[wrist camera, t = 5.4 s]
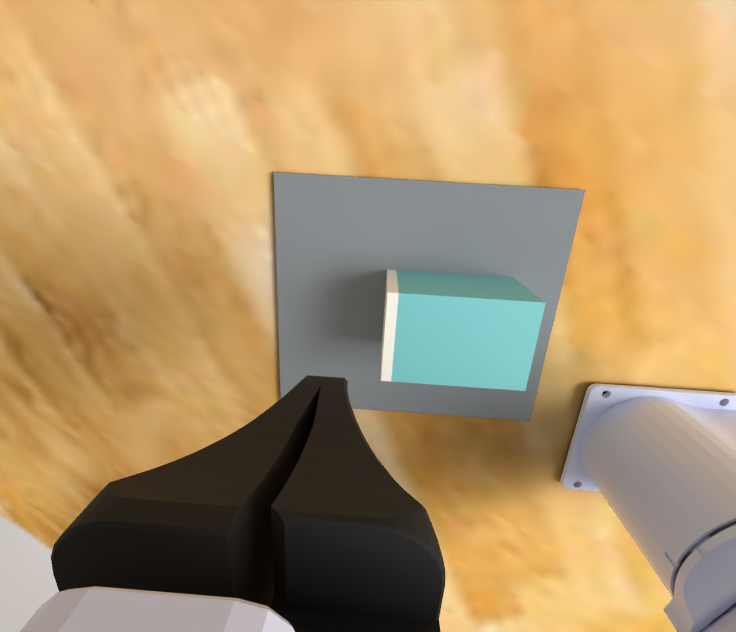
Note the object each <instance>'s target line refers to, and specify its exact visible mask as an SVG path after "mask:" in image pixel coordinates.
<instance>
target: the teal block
mask: <svg viewBox="0 0 736 632" xmlns="http://www.w3.org/2000/svg"><path fill="white" fill-rule="evenodd" d="M545 304H546V302H544V301H543V300H542V299H540V298H539V297H538V296H537V295H535V294H534V293H533V292H531V291H530V290H529V289H528V288H526V287H525V286H524V285H522V284H521V283H520V282H519V281H517V280H516V279H515V278H513V277H498V276H483V275H467V274H451V273H435V272H419V271H403V270H387V279H386V293H385V307H384V320H383V334H382V357H381V381H391V382H405V383H419V384H433V385H448V386H462V387H476V388H490V389H505V390H519V391H526V386H527V382H528V378H529V373H530V369H531V365H532V360H533V356H534V352H535V347H536V343H537V338H538V334H539V330H540V325H541V321H542V317H543V312H544V308H545Z"/></svg>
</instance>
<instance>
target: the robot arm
mask: <svg viewBox="0 0 736 632" xmlns="http://www.w3.org/2000/svg"><path fill="white" fill-rule="evenodd" d="M347 388H348V381H347V380H346V379H345V378H340V377H325V376H311V375H307V376H306V377H305V378H303V379H302V380H301V381H300V382H299V383H298V384H297V385H296V386H295V387H294V388H292V389H291V390H290V391H289V392H288V393H287V394H286V395H285V396H283V397H282V398H281V399H280V400H279V401H278V402H276V403H275V404H274V405H273V406H272V407H270V408H269V409H268V410H266V411H265V412H264V413H262V414H261V415H260V416H258V417H257V418H256V419H254V420H253V421H251V422H250V423H248V424H247V425H245V426H244V427H242V428H241V429H239V430H237V431H236V432H234V433H232V434H231V435H229V436H227V437H225V438H223V439H221V440H219V441H217V442H215V443H213V444H211V445H209V446H207V447H205V448H203V449H201V450H199V451H197V452H195V453H193V454H190V455H188V456H186V457H183V458H181V459H178V460H176V461H173V462H171V463H168V464H165V465H163V466H160V467H157V468H154V469H151V470H148V471H145V472H142V473H139V474H136V475H132V476H129V477H126V478H123V479H120V480H116V481H113V482H110V483H109V484H108V485H107V486H106V487H105V488H104V489H103V490H102V491H101V492H100V493H99V494H98V495H97V496H96V497H95V498H94V499H93V500H92V502H91V503H90V504H89V505H88V506H87V507H86V508H85V509H84V510H83V512H82V513H81V514H80V515H79V516H78V517H77V518H76V519H75V520H74V522H73V523H72V524H71V525H70V526H69V527H68V528H67V529H66V530H65V532H64V533H63V534H62V535H61V536H60V538H59V539H58V540H57V541H56V543H55V544H54V547H53V551H52V555H51V561H52V567H53V573H54V577H55V580H56V583H57V586H58V589H59V592H58V593H57V594H55V595H54V596H53V597H52V598H51V599H49V600H48V601H47V602H45V603H44V604H43V605H42V606H41V607H40V608H39V609H38V610H37V611H36V613H35V614H34V615H33V617H32V618H31V619H30V620H29V621H28V623H27V624H26V625H25V626H24V628H23V629H22V630H21V631H20V632H440V625H439V615H440V609H441V604H442V599H443V593H444V588H445V567H444V562H443V557H442V554H441V550H440V547H439V543H438V540H437V537H436V534H435V531H434V529H433V526H432V523H431V521H430V519H429V516H428V514H427V511H426V509H425V508H424V507H423V506H422V505H421V504H420V503H419V502H418V501H416V500H415V499H414V498H413V497H412V496H411V495H409V494H408V493H407V492H406V491H405V490H404V489H403V488H402V487H401V486H400V485H399V484H398V483H397V482H396V481H395V480H394V479H393V478H392V476H391V475H390V474H389V473H388V471H387V470H386V469H385V468H384V466H383V465H382V464H381V463H380V461H379V460H378V459H377V457H376V456H375V454H374V453H373V451H372V450H371V448H370V446H369V445H368V443H367V441H366V439H365V438H364V436H363V434H362V432H361V430H360V428H359V425H358V423H357V421H356V418H355V416H354V413H353V410H352V407H351V404H350V401H349V396H348V391H347ZM606 390H607V392H606V393H605V394H602V393H603V392H604V391H606ZM722 399H723V400H722ZM721 400H722V401H721ZM720 401H721V402H720ZM560 482H561V484H562V486H563V487H564V488H565V489H572V490H586V491H599V492H601V493H602V495H603V496H604V498H605V499H606V501H607V502H608V504H609V505H610V506H611V508H612V509H613V511H614V512H615V514H616V515H617V517H618V518H619V520H620V521H621V523H622V524H623V525H624V527H625V528H626V530H627V531H628V533H629V534H630V536H631V537H632V539H633V540H634V542H635V543H636V544H637V546H638V547H639V549H640V550H641V552H642V553H643V555H644V556H645V558H646V559H647V561H648V562H649V563H650V565H651V566H652V568H653V569H654V571H655V572H656V574H657V575H658V577H659V578H660V580H661V581H662V582H663V584H664V585H665V587H666V588H667V590H668V591H669V593H670V594H671V596H672V597H673V598H672V600H671V601H670V603H669V604H668V605H667V606H666V607H665V608H664V612H665V613H666V615H667V616H668V618H669V619H670V621H671V622H672V624H673V626H674V627H675V629H676V630H677V632H736V393H728V392H714V391H699V390H685V389H670V388H656V387H642V386H627V385H613V384H598V383H596V384H592V385H590V386H589V387H588V388H587V390H586V394H585V397H584V401H583V404H582V407H581V411H580V414H579V418H578V421H577V424H576V428H575V431H574V435H573V438H572V441H571V445H570V448H569V452H568V455H567V458H566V462H565V465H564V469H563V472H562V475H561V479H560ZM575 482H577V483H575Z"/></svg>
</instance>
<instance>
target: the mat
mask: <svg viewBox="0 0 736 632" xmlns="http://www.w3.org/2000/svg"><path fill="white" fill-rule="evenodd" d="M584 193H585V190H575V189H557V188H540V187H522V186H505V185H487V184H470V183H452V182H435V181H417V180H400V179H382V178H365V177H347V176H330V175H313V174H295V173H278V172H274V203H275V235H276V267H277V299H278V330H279V362H280V394H281V398H282V397H283V396H285V395H286V394H287V393H288V392H289V391H290V390H291V389H292V388H294V387H295V386H296V385H297V384H298V383H299V382H300V381H301V380H302V379H303V378H305V377H306V376H307V375H311V376H325V377H340V378H345V379H346V380H347V381H348V388H347V391H348V396H349V401H350V404H351V407H352V408H355V409H369V410H383V411H397V412H410V413H424V414H438V415H452V416H466V417H480V418H494V419H508V420H522V421H530V417H531V413H532V409H533V404H534V400H535V396H536V392H537V388H538V384H539V380H540V375H541V371H542V367H543V363H544V359H545V355H546V351H547V346H548V342H549V338H550V334H551V330H552V326H553V322H554V317H555V313H556V309H557V305H558V301H559V297H560V293H561V288H562V284H563V280H564V276H565V272H566V268H567V264H568V259H569V255H570V251H571V247H572V243H573V239H574V235H575V230H576V226H577V222H578V218H579V214H580V210H581V206H582V201H583V197H584ZM387 270H403V271H419V272H435V273H451V274H467V275H483V276H498V277H513V278H515V279H516V280H517V281H519V282H520V283H521V284H522V285H524V286H525V287H526V288H528V289H529V290H530V291H531V292H533V293H534V294H535V295H537V296H538V297H539V298H540V299H542V300H543V301H544V302H546V304H545V308H544V312H543V317H542V321H541V325H540V330H539V334H538V338H537V343H536V347H535V352H534V356H533V360H532V365H531V369H530V373H529V378H528V382H527V386H526V391H519V390H505V389H490V388H476V387H462V386H448V385H433V384H419V383H405V382H391V381H381V357H382V334H383V320H384V307H385V293H386V279H387Z"/></svg>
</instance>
